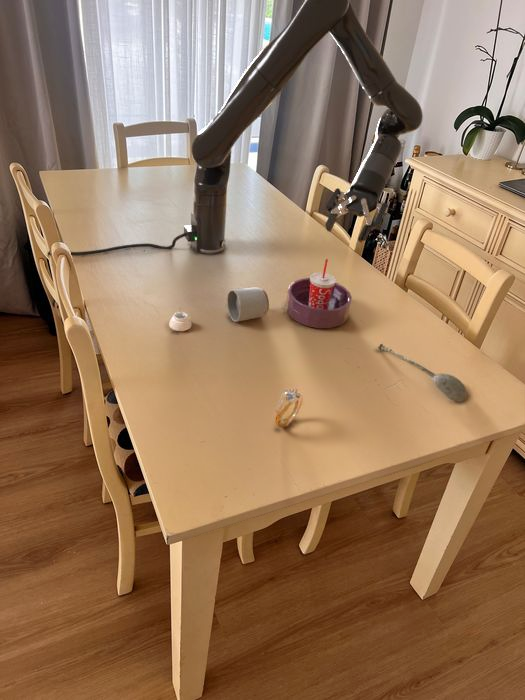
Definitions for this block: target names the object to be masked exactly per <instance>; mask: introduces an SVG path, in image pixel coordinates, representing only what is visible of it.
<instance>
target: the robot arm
mask: <svg viewBox="0 0 525 700" xmlns="http://www.w3.org/2000/svg"><path fill="white" fill-rule="evenodd" d="M328 33H329V35H331V37H332V38H333V39H334V41H335V42H336V44H337V45H338V46H339V48H340V50H341V51H342V53H343V55H344V57H345V58H346V61H347V62H348V64H349V67H350V68H351V70H352V72H353V74H354V76H355V78H356V79H357V81H358V83H359V84H360V86H361V87H362V89H363V91H364V93H365V94H366V95H367V97H368V98H369V101H370V102H372V104H373V105H374V106H379V107H386V109H385V110H384V111H383V113H382V114H381V115H380V118H379V120H378V123H377V127H376V131H375V136H374V142H373V143H372V145H371V147H370V149H369V151H368V153H367V155H366V157H365V158H364V160H363V161H362V162H361V164H360V167H359V169H358V172H357V173H356V175H355V177H354V179H353V181H352V183H351V185H350V187H349V190H348V191H347V192H344V191H341V190H340V188H338V187H337V188H335V189H334V191H333V192H332V195H331V197H330V198H329V200H328V201H327V203H326V205H325V210H326V212H327V214H328V215H329V216H328V218H327V220H326V222H325V228H326V231H327V232H330V233H331V232H332V230H333V227H334V225H335V224H336V222H337V218H339V217H340V216H343V215H346V214H347V213H348V214H349V215H355V216H357V217H359V218H362V217H364V219H365V224H364V225H363V227H362V229H361V232H360V233H359V236H358V238H357V240H358V242H359V243H363V242H366V240H367V239H368V237H369V235H370V232H371V231H372V230H377V231H380V230H381V228H382V226H383V223H384V221H385V219H386V216H387V213H388V212H389V207H388V206H389V205H388V203H387V202H383V203H379V200H380V198H381V196H382V194H383V192H384V190H385V188H386V186H387V184H388V183H389V181H390V178H391V175H392V173H393V169H394V167H395V165H396V163H397V162H398V159H399V158H400V154H401V153H402V149H403V145H402V142H401V139H399V137H400V136H403V135H405V134H408V133H413V132H415V131H416V130H418V129H419V128H420V127H421V126H422V123H423V119H424V114H423V109H422V107H421V104H420V102H418V100H417V99H416V98H415V97H414V96H413V95H412V94H411V93H410V92H409V91H408V90H407V89H406V88H405V87H404V86H403V85H402V84H400V83H399V82H398V80H397V78H396V77H395V75H394V74H393V72H392V70H391V69H390V67H389V65H388V64H387V62H386V61H385V59H384V57H383V56H382V54H381V53H380V52H379V50H378V49H377V47H376V46H375V44H374V43H373V41H372V40H371V39H370V37H369V36H368V34H367V33H366V31H365V29H364V28H363V26H362V24H361V22H360V20H359V18H358V16H357V15H356V12H355V10H354V7H353V5H352V2H351V0H302V2H301V4H300V5H299V7H298V9H297V10H296V11H295V13H294V15H293V16H292V17H291V19H290V20H289V22H288V23H287V25H286V26H284V29H282V31H281V32H279V34H278V35H277V36H275V37H274V38H273V39H272V40H271V41H270V42H269V43H268V44H267V45H266V46H265V47H264V48H263V49H262V50H261V51H260V52H259V54H258V55H257V56H256V57H255V58H254V59H253V61H252V62H250V65H249V66H248V67H247V69H245V71H244V73H242V76H241V77H240V79H239V80H238V81H237V83H236V85H235V86H234V88H233V89H232V90H231V93H230V94H229V96H228V98H227V99H226V101H225V102H224V104H223V106H222V107H221V109H220V110H219V112H218V113H217V114H216V115H215V117H214V118H212V120H211V121H210V122H209V123H208V125H207V126H205V127H204V128H202V129H201V130H200V131H199V132H198V134H196V136H195V137H194V139H193V140H192V143H191V157H192V160H193V161H194V163H195V164H196V169H195V174H194V177H193V197H192V199H193V202H192V204H193V205H192V209H193V210H192V212H191V213H190V224H189V225H183V233H181V234H179V235H177V236H176V237H174V238H173V240H172V242H171V245H167V246H166V245H159V244H154V243H149V242H148V243H146V242H145V243H131V244H123V245H117V246H112V247H108V248H107V247H106V248H102V249H101V248H100V249H93V250H86V251H70V250H69V251H70V252H71V255H70V256H86V255H95V254H103V253H109V252H113V251H117V250H124V249H132V248H133V249H134V248H145V247H146V248H154V249H162V250H172V249H173V248H175V246H176V243H177V241H179V240H180V239H182V238H185V240H186V241H187V243H190V245H191V247H192V248H193V250H194V251H195V253H201V254H208V255H214V254H219V253H221V252H223V251H224V250H225V246H226V239H227V238H226V222H227V221H226V220H227V204H228V203H227V201H228V186H229V181H230V175H231V163H232V162H231V161H232V149H233V147H234V146H235V144H236V143H237V141H238V140H239V138H240V137H241V135H242V134H243V133H244V132H245V131H246V130H247V129H248V128H249V127H250V126H251V125H252V124H253V123H254V122H255V121H256V120H257V119H258V118H259V117H260V116H261V115H262V114H263V113H264V112H265V111H266V110H267V109H269V107H270V106H271V104H273V102H274V101H275V100H276V99H277V97H278V96H279V95H280V94H281V93H282V92H283V90H284V89H285V88H286V86H287V85H288V83H290V81H291V80H292V78H293V77H294V76H295V74H296V73H297V72H298V70H299V68H300V67H301V65H302V64H303V62H304V61H305V59H306V58H307V56H308V55H309V54H310V53H311V52H312V50H313V49H314V48H315V47H316V46H317V45H318V44H319V43H320V42H321V41H322V39H324V38H325V36H326V35H328ZM343 199H344V200H343ZM342 200H343V202H340V201H342ZM339 202H340V203H339ZM338 203H339V204H338ZM337 204H338V205H337ZM376 209H377V215H376V218H375V221H372V218H371V214H370V213H372V212H373V211H375V210H376ZM50 251H51V250H49V251H48V253H47V255H49V256H50V255H51V254H50Z"/></svg>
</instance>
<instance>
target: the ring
mask: <svg viewBox="0 0 525 700" xmlns="http://www.w3.org/2000/svg"><path fill="white" fill-rule="evenodd" d="M298 391H299V390H298V389H297V388H296V389H294V388H293V389H289V390H288V389H286V390H284V391H283V392H282V393H281V396H280V398H279V401H278V403H277V404H276V405H277V406H276V408H275V411H274V414H273V423H274V424H275V425H276V427H278V428H280V429H281V428H285V427H288V426H289V425H290V423H291V422H293V420H294V419H296V417H297V415H298V414H299V412H300V411H301V408H302V405H303V400H304V399H303V398H304V397H303V395H302V394H301V393H298ZM284 402H288V403H287V404H286V405H285V406H284V407H283V404H284ZM293 404H294V407H293V410H292V412H291V414H290V415H289V416H288V417H287V418H284V419H283V420H282V418H283V416H284V415H285V414H286V412H287V411H288V409H289V408H290V407H291V406H292V405H293ZM282 407H283V408H282ZM281 420H282V421H281Z"/></svg>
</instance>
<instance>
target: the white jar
mask: <svg viewBox="0 0 525 700" xmlns="http://www.w3.org/2000/svg"><path fill="white" fill-rule="evenodd" d="M192 323H193V322H192V320H191V319H190V317H189V316H188V314H187V313H186V312H184V311H177V312H175V313H173V316H171V318H170V320H169V324H168V325H169V327H170V329H172V330H173V331H177V332H184V331H187V330H190V329H191V328H192Z"/></svg>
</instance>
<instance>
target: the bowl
mask: <svg viewBox="0 0 525 700" xmlns="http://www.w3.org/2000/svg"><path fill="white" fill-rule="evenodd" d="M310 285H311V281H310V277H305V278H304V277H303V278H300V279H297V280H294V281H293V282H292V283H291V284H289V286H288V288H287V295H286V301H285V310H286V313H287V314H288V316H289V317H290V318H292V319H293V320H294V321H296V322H297V323H300V324H301V325H304V326H307V327H312V328H316V329H330V328H336V327H338V326H341V325H343V324H344V323H345V322H346V321H347V320H348V316H349V311H350V309H351V303H352V295H351V292H350V291H349V290H348V289H347V288H346V287H345V286H343V285H342V284H340V283H338V282H337V281H336V282H335V285H334V286H333V289H332V293H331V297H330V300H329V304H328V307H327V309H317V308H312V307H309V306H308V304H309V295H310Z"/></svg>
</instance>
